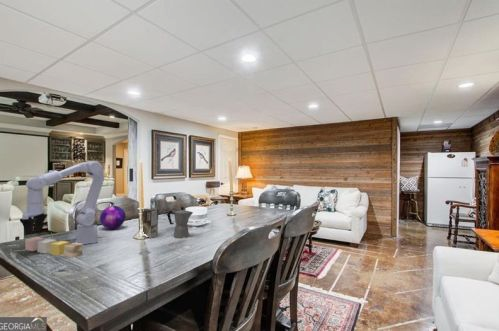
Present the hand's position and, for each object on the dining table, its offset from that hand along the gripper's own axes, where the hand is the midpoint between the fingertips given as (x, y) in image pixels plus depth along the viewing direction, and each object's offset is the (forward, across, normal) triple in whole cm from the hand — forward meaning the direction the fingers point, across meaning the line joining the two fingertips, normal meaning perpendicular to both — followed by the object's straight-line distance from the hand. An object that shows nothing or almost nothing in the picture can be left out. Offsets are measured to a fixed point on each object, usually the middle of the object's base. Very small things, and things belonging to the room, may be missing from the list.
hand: (33, 231), depth 118 cm
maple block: (+10, +8, +20) cm, 23 cm away
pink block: (+10, -5, -2) cm, 11 cm away
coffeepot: (+10, -19, +66) cm, 70 cm away
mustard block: (+10, +4, +12) cm, 16 cm away
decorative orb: (+10, -43, +23) cm, 50 cm away
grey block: (+10, 0, +5) cm, 11 cm away
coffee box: (+10, -21, +48) cm, 54 cm away
